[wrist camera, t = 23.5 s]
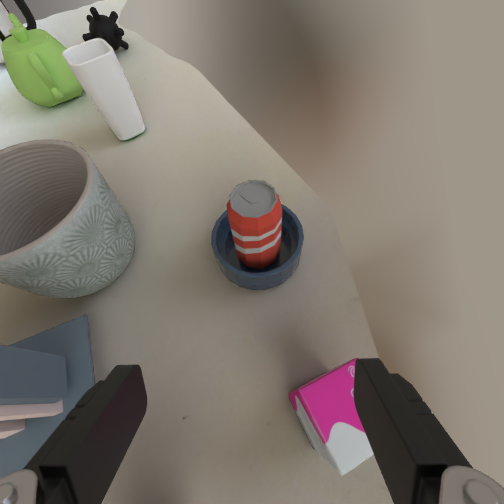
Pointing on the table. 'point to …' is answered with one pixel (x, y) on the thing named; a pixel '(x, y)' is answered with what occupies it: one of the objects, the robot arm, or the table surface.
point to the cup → (106, 86)
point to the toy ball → (105, 29)
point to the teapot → (38, 66)
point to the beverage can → (255, 223)
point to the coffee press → (3, 25)
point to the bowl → (255, 276)
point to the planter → (59, 222)
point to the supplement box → (333, 418)
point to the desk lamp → (41, 388)
